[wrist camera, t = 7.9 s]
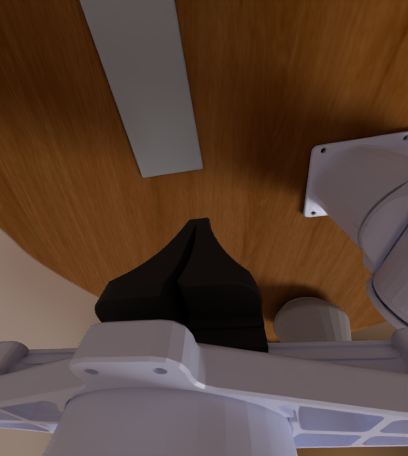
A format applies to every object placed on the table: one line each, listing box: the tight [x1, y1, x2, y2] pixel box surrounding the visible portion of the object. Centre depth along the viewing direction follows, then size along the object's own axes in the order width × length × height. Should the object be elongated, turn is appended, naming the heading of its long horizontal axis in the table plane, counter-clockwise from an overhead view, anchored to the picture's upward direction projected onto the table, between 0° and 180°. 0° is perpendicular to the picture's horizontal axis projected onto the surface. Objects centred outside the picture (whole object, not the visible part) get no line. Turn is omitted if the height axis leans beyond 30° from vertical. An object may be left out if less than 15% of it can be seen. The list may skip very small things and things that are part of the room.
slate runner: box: [80, 0, 203, 178], centre depth 16 cm, size 7×19×1 cm, turn 10°
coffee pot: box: [273, 297, 351, 343], centre depth 27 cm, size 21×12×15 cm, turn 81°
